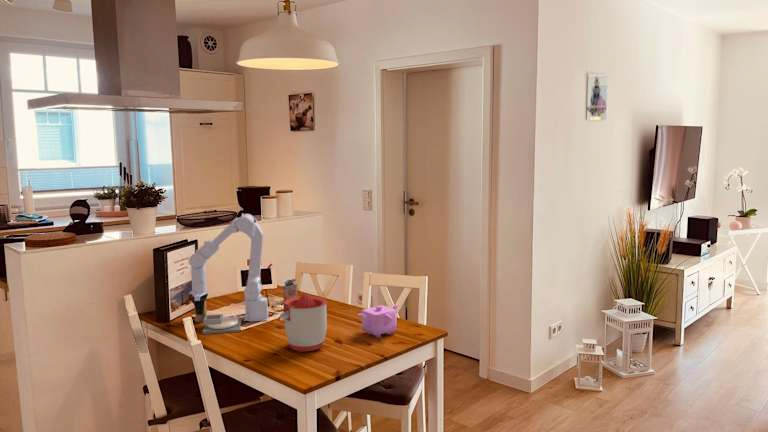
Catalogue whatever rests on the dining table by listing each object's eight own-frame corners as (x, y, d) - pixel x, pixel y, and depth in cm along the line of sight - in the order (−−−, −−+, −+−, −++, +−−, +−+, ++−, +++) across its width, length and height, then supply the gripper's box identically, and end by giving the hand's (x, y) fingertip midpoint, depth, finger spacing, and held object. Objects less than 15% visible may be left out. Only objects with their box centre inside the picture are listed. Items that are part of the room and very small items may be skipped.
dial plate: (241, 320, 250) (241, 318, 250) (239, 331, 236) (239, 329, 236) (207, 322, 248) (207, 320, 248) (202, 334, 234) (202, 331, 234)
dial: (239, 318, 249) (238, 311, 248) (236, 328, 237) (236, 320, 237) (207, 320, 247) (206, 313, 246) (202, 330, 235) (202, 322, 235)
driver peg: (206, 318, 254) (205, 300, 253) (205, 321, 250) (204, 303, 249) (196, 319, 253) (195, 300, 252) (195, 322, 249) (194, 303, 248)
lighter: (286, 303, 275) (286, 282, 274) (281, 302, 277) (280, 280, 276) (299, 299, 282) (298, 278, 280) (294, 298, 284) (293, 277, 282)
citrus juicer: (274, 345, 221) (272, 292, 218) (318, 336, 229) (316, 285, 227) (289, 358, 208) (287, 302, 205) (335, 349, 216) (333, 295, 213)
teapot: (366, 326, 241) (366, 299, 240) (399, 327, 239) (399, 301, 237) (357, 339, 227) (357, 311, 225) (392, 341, 224) (392, 312, 222)
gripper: (191, 277, 256) (193, 308, 257) (185, 286, 241) (187, 318, 243) (208, 276, 257) (210, 307, 259) (204, 285, 242) (205, 317, 244)
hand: (200, 313), depth 251 cm, fingers closed on driver peg, 4 cm apart
